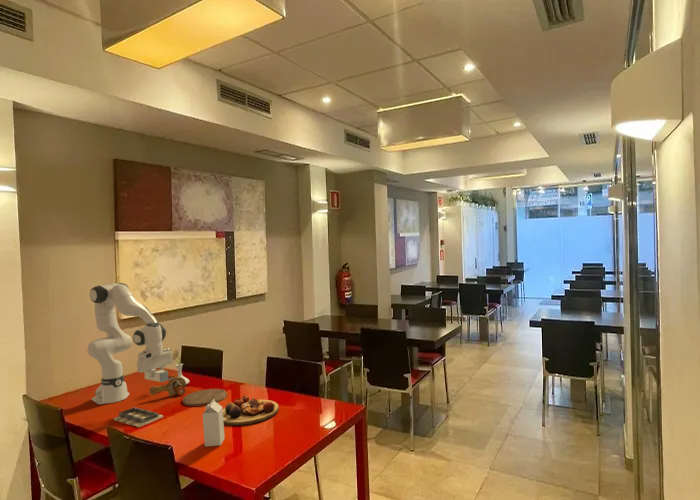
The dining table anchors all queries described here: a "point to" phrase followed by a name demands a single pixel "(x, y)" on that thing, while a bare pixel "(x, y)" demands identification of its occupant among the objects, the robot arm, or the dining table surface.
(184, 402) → the trivet
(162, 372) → the white rectangular block
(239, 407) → the wooden plate with food
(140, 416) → the tray
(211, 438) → the milk carton
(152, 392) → the toy cannon
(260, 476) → the dining table surface
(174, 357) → the flower in vase
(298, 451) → the dining table surface
